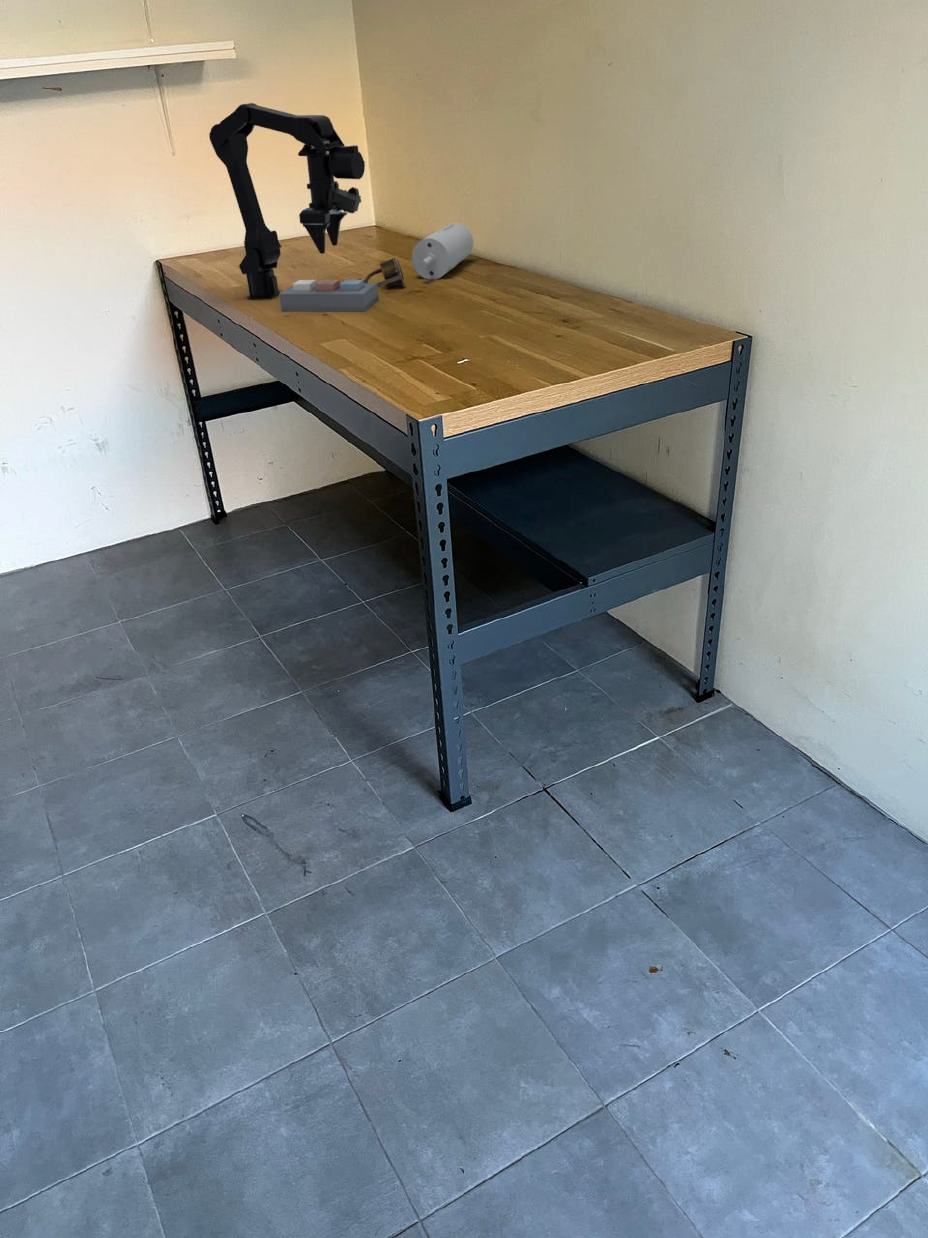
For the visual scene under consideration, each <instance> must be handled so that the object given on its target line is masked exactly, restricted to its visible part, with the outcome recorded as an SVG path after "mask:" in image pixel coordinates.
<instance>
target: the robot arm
mask: <svg viewBox="0 0 928 1238" xmlns="http://www.w3.org/2000/svg"><path fill="white" fill-rule="evenodd" d="M255 126H256V127H260V128H264V129H267V130H272V131H276V132H280V133H283V134H287V135H289V136H291V137H293V138H294V139H295V140H296V141H298V142H300V143H301V144H303V146H302V148H301V149H300V150H299V151H298V153H297V156H299V157H306V161H307V163H306V164H307V170H308V171H307V173H308V181H309V183H306V189H307V190H309V192H310V201H311V202H309V203H308V207H306V208H305V209H303V210H302V209H301V211H300V213H299V214H298V217H299V224H301V225H302V227H303V228H305V230H306V232H307V233H308V235H309V236H310V238H311V240H312V241H313V243H314V245H315V247H316V249H317V251H318V253H320V254H322V255H323V254H325V253H326V233H327V235H328V238H329V241H330V243H331V245H332V246H334V247H335V246H337V245H338V241H339V236H340V234H339V233H340V228H341V222H342V220H343V219H344V218H345V217H346V216H347V215H348V213H349V214H355V212H358V210H359V206H360V203H361V202H362V199H361V197H362V196H361V195H360V191H359V188H357V187H354V186H351V187H350V188H349V189H348V190H347V189H341V188H340V185H339V182H338V180H335V179H341V180H360V179H362V178H363V176H364V174H365V168H366V167H365V166H366V164H365V163H366V161H365V160H364V157H363V155H362V154H361V152H360V151H359V146H358V145H354V144H353V145H349V146H347V145H345V144H344V142H343V141H342V138H341V137H340V136H339V135H338V133H337V131H336V130H335V129H334V126H333V123H332V121H331V119H330V117H329V116H327V115H323V114H318V115H317V114H306V115H305V114H304V115H303V114H302V115H299V114H293V113H289V112H285V111H281V110H277V109H273V108H270V107H265V106H262V105H258V104H256V103H253V102H249V103H242V104H239V106H237V108H236V109H235V110H234V111H233V112H232V113H230V114H229V115H228V116H226V117H225V118H224V119H222V120H221V121H220V122H219V123H216V124H213V125H212V127H211V129H210V131H209V136H208V137H209V140H210V145H211V146H212V148H213V151H214V153H215V155H216V156H217V159H218V158H219V160H220V161H221V162H222V163H223V166H225V168H226V170H227V173H228V176H229V180H230V184H231V186H232V190H233V192H234V196H235V199H236V202H237V206H238V209H239V212H240V215H241V218H242V222H243V226H244V228H245V233H244V242H243V245H244V250H245V255H244V257H243V259H242V260H241V261H240V262H239V265H238V267H239V269H240V272H241V274H242V275H246V281H247V288H248V293H249V294H248V295H247V297H246V299H248V300H249V299H250V300H251V299H254V300H259V299H260V300H261V299H265V300H266V299H267V300H270V299H272V298H274V297H276V296H277V295H279V294H280V293H281V292H280V290H279V285H278V278H277V276H276V275H275V272H274V271H275V270H274V269H277V268H278V261H279V259H280V256H281V248H282V245H281V243H280V242H279V241H280V240H279V237H278V233H277V230H270V228H268V226H267V225H266V223H265V219H264V217H263V216H264V215H263V213H262V209H261V207H260V204H259V199H258V196H257V193H256V190H255V187H254V183H253V180H252V175H251V173H250V169H249V166H248V162H247V161H248V160H247V159H248V152H249V145H248V140H247V139H248V137H249V136H250V134H252V132H253V130H254V128H255Z"/></svg>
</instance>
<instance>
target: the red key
mask: <svg viewBox="0 0 928 1238" xmlns="http://www.w3.org/2000/svg"><path fill="white" fill-rule="evenodd" d="M340 283H341V280H340V279H322V280H320V281H319V282H317V284H316V288H317V291H336V290H337V289H338V288H340Z"/></svg>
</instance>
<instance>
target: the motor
mask: <svg viewBox="0 0 928 1238" xmlns="http://www.w3.org/2000/svg"><path fill="white" fill-rule="evenodd" d="M473 247H474V238H473V235H472V233H471V231H470V230H469V229H468V228H467V226H465V225H463V224H461V223H457V222H455V223H450V224H447V225H446V226H445V227H443V228H441V229H440V230H437V231H435V232H432V234H429V235H428V236H426V237H424V238H423V239H421V240H419V241H418V242H417V243H416V244H415V246H414V248H413V250H412V253H411V262H412V266H413V268H414V270H415V271H416V273H417V274H418V275H419V276H420V277H422V278H423V279H427V280H438V279H440V278H442V277H443V276H444V275H446V274H447V273H449V272H450V271H451V270H453V269H454V268H455V267H456V266H457V265H458V264H460V263H461V262H463V261H464V260H465V259H466V258H468V257H469V255H470V254H471V253H472V251H473Z"/></svg>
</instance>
